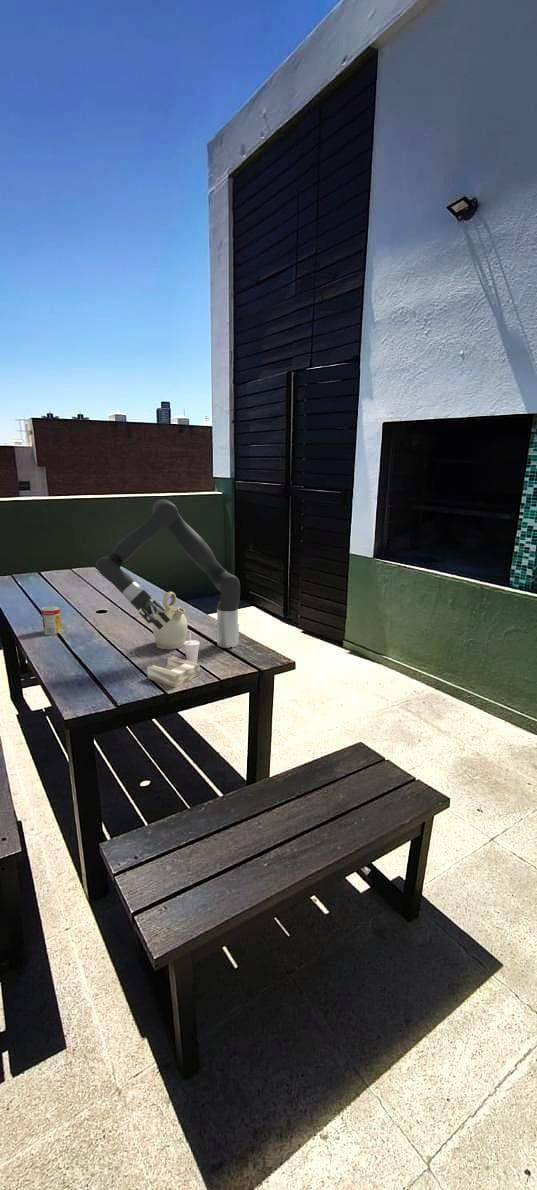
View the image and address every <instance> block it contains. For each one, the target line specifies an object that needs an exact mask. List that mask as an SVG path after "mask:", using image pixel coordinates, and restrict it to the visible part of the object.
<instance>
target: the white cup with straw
mask: <svg viewBox="0 0 537 1190" xmlns="http://www.w3.org/2000/svg"><path fill="white" fill-rule="evenodd" d="M200 645H201V644H200V641H199V640H197V639H192V631H191V632H190V631H189V640H185V642H184V645H183V646H184V650H185V656H186V657H185V658H186V660H187V661H191V662H194V663H198V656H199V647H200Z"/></svg>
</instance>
